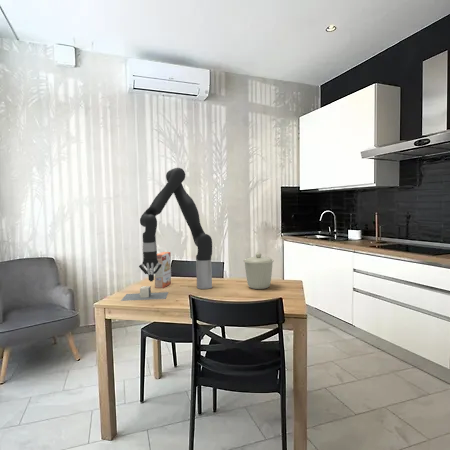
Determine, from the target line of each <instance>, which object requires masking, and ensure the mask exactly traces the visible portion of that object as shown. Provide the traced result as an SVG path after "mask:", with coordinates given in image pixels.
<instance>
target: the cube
mask: <svg viewBox="0 0 450 450" xmlns="http://www.w3.org/2000/svg"><path fill="white" fill-rule="evenodd" d="M151 287H152V286H150V285H149V286H148V285H147V286H145V285H144V286H141V287H140V288H139V293H140V298H144V297H150V295H151V293H152V292H151V290H152V289H151Z"/></svg>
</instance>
